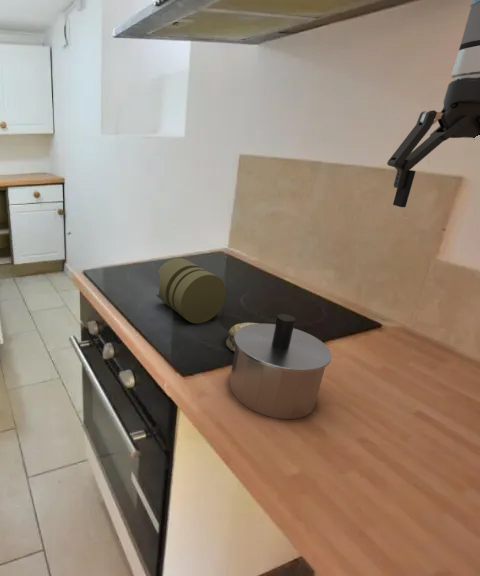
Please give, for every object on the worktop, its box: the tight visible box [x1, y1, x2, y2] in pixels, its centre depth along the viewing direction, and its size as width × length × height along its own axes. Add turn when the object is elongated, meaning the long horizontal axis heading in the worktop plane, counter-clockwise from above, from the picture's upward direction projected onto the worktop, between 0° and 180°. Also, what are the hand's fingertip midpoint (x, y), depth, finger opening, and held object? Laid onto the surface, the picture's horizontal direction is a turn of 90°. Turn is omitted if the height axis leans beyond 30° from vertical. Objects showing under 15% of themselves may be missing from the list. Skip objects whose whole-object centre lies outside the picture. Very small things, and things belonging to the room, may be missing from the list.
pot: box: [229, 346, 326, 420], centre depth 59 cm, size 12×12×8 cm
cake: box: [225, 321, 259, 352], centre depth 73 cm, size 10×10×5 cm
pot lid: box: [234, 313, 332, 372], centre depth 57 cm, size 13×13×6 cm
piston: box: [155, 257, 227, 324], centre depth 86 cm, size 11×12×11 cm
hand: (439, 206), depth 71 cm, fingers open, 13 cm apart
